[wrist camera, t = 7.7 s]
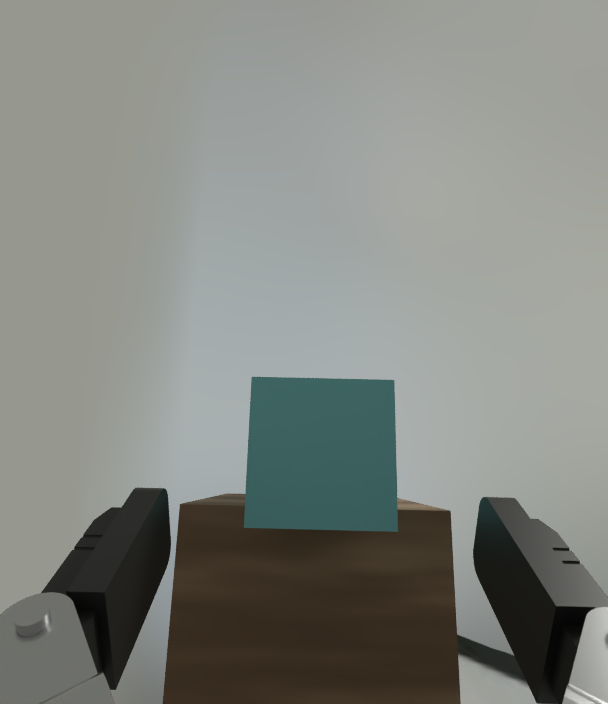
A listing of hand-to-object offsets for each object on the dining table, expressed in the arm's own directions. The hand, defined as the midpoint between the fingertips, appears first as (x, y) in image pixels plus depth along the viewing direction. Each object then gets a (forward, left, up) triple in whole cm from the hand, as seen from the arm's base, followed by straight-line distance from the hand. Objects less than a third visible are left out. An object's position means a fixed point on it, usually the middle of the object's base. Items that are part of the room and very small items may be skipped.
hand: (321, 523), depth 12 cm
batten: (+12, 0, 0) cm, 12 cm away
